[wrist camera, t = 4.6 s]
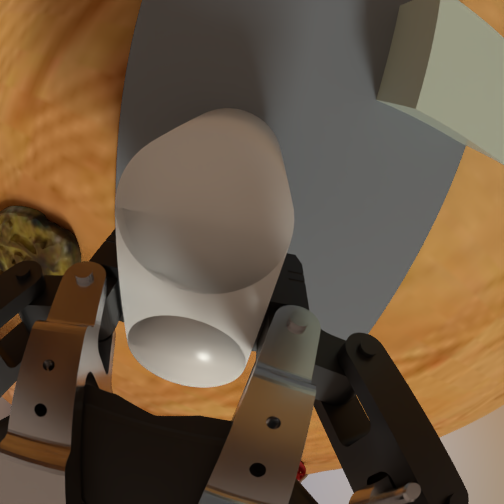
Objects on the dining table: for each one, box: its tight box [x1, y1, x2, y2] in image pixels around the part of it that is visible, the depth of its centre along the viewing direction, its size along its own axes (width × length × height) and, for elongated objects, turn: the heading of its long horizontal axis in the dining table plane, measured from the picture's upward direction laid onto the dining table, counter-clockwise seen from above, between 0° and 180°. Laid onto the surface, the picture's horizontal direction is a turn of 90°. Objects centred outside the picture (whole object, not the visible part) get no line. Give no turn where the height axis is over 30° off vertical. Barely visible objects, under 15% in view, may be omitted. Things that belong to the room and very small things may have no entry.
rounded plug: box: [115, 108, 294, 387], centre depth 10 cm, size 12×4×5 cm, turn 168°
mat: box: [116, 0, 466, 340], centre depth 12 cm, size 22×16×1 cm
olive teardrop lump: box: [0, 206, 81, 275], centre depth 15 cm, size 9×5×15 cm
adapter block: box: [376, 0, 504, 165], centre depth 7 cm, size 5×5×4 cm
